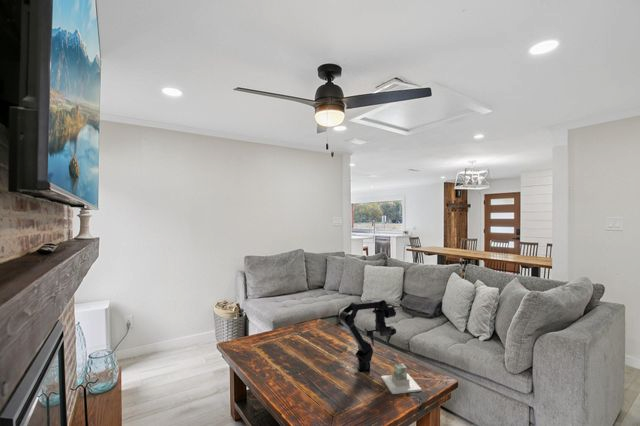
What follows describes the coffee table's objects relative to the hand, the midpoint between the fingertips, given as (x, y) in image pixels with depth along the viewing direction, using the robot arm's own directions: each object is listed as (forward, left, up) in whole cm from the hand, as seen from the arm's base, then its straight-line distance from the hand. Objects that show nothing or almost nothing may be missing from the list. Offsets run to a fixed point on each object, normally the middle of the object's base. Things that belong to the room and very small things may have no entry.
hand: (380, 344), depth 193 cm
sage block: (+3, -23, -8) cm, 24 cm away
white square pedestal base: (+3, -23, -12) cm, 26 cm away
